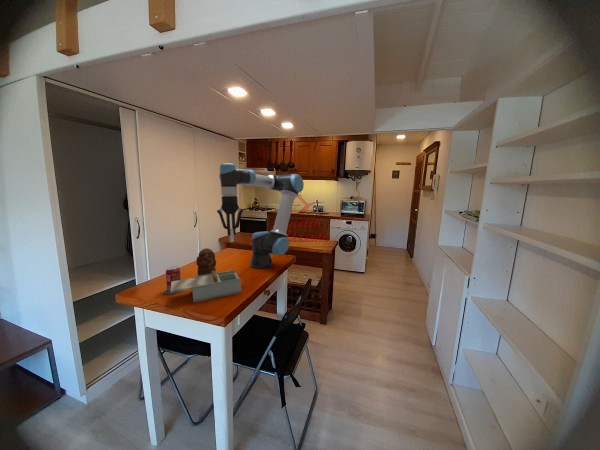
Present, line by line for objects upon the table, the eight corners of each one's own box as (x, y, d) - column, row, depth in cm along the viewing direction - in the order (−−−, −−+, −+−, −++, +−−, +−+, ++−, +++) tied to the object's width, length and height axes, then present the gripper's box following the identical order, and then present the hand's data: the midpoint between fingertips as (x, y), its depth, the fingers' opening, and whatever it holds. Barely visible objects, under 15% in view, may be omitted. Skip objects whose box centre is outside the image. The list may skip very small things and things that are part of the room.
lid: (217, 275, 118) (217, 269, 118) (221, 283, 108) (220, 277, 108) (171, 283, 108) (170, 276, 108) (170, 292, 98) (169, 285, 98)
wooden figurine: (206, 283, 124) (204, 252, 121) (196, 281, 125) (194, 251, 122) (218, 275, 135) (217, 246, 132) (209, 274, 136) (207, 245, 133)
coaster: (184, 285, 120) (184, 284, 120) (184, 292, 112) (184, 291, 112) (165, 288, 116) (164, 288, 116) (163, 296, 108) (163, 295, 108)
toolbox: (235, 282, 124) (235, 269, 123) (241, 292, 113) (240, 278, 112) (192, 291, 114) (191, 277, 113) (193, 302, 103) (192, 287, 101)
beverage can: (171, 287, 117) (169, 265, 115) (183, 287, 118) (181, 265, 116) (165, 293, 111) (162, 270, 109) (178, 292, 111) (176, 269, 109)
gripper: (240, 195, 117) (242, 238, 121) (214, 195, 111) (217, 241, 115) (244, 195, 111) (246, 241, 115) (216, 196, 105) (219, 244, 109)
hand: (231, 241), depth 115 cm, fingers closed
